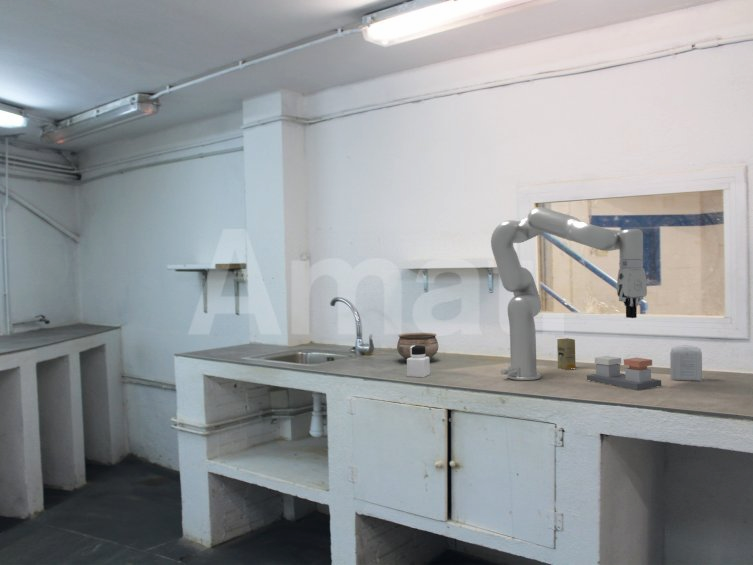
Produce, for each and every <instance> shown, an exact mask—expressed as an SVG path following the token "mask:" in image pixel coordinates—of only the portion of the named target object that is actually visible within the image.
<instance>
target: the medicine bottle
mask: <svg viewBox="0 0 753 565" xmlns="http://www.w3.org/2000/svg"><path fill="white" fill-rule="evenodd" d="M410 356H411V357H410V358H408V359H406V376H407V377H410V378H411V377H412V378H426V377H427V376H429V375H430V374H431V372H430V370H431V368H430V367H431V366H430V363H431V362H430V359H429V357H425V356H426V352H425V346H423V345H414V346H411V347H410Z"/></svg>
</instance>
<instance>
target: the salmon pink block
mask: <svg viewBox="0 0 753 565" xmlns="http://www.w3.org/2000/svg"><path fill="white" fill-rule="evenodd" d="M623 366H626V367H628V368H629V369H634V370H644V369H647V368H648V367H651V366H653V359H650V358H642V357H631V358H624V359H623Z"/></svg>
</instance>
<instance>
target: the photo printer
mask: <svg viewBox="0 0 753 565" xmlns="http://www.w3.org/2000/svg"><path fill="white" fill-rule="evenodd" d="M669 354H670V355H669V356H670V360H669V361H670V362H669V363H670V367H669V368H670V370H669V371H670V380H672V381H692V380H693V381H695V382H696V381H697V382H701V381H703V352H702V349H701V348H700V347H697V346H693V345H677V346H672V347H671V350H670V353H669ZM693 381H692V382H693Z"/></svg>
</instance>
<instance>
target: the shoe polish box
mask: <svg viewBox="0 0 753 565" xmlns="http://www.w3.org/2000/svg"><path fill="white" fill-rule="evenodd" d="M556 339H557V341H556V342H557V343H556V344H557V345H556V346H557V347H556V348H557V369H559V368H562V369H561V370H563V369H571V368H577V367H576V340H575V339H574V338H569V337H567V338H556ZM571 370H572V369H571Z"/></svg>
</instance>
